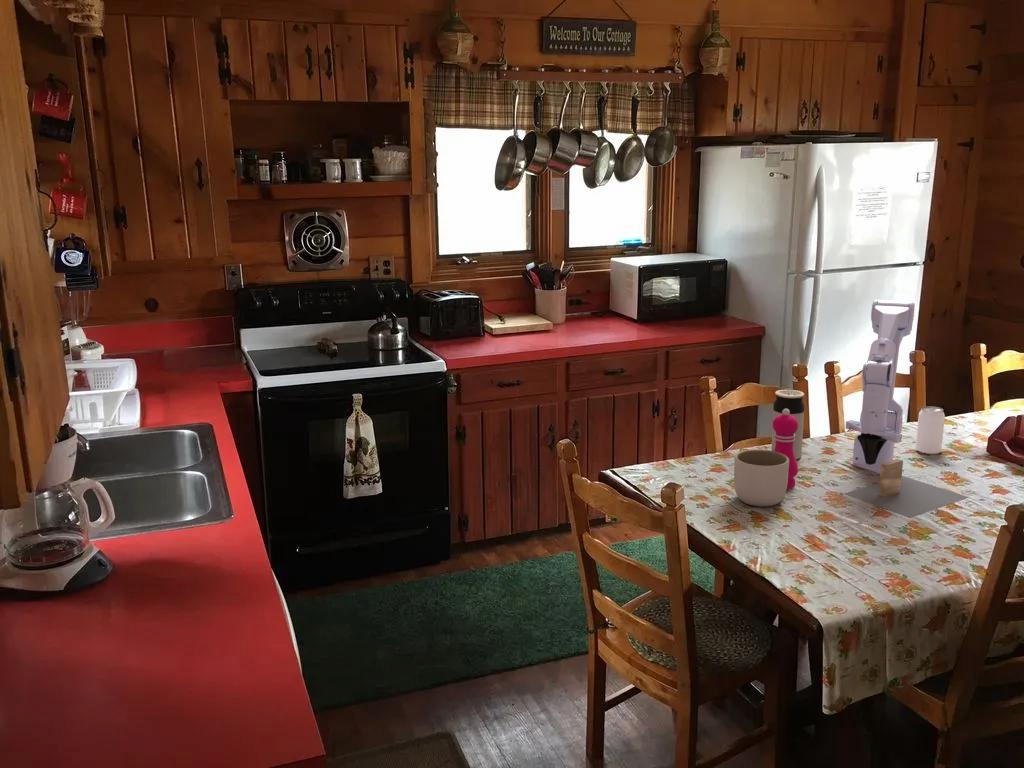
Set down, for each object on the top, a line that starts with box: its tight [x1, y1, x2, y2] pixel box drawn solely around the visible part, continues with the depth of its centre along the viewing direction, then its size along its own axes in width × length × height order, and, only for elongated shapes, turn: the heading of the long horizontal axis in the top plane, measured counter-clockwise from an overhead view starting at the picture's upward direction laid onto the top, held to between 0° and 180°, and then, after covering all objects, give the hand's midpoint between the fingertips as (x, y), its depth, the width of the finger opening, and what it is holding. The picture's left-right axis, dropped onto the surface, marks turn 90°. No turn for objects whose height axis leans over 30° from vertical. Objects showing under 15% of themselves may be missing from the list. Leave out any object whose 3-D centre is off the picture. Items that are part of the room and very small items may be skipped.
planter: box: [733, 448, 789, 508], centre depth 211 cm, size 12×12×11 cm
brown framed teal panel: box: [878, 458, 904, 497], centre depth 212 cm, size 2×6×8 cm, turn 121°
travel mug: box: [770, 389, 805, 460], centre depth 240 cm, size 8×8×18 cm
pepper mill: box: [772, 409, 799, 489], centre depth 219 cm, size 7×7×20 cm
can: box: [915, 406, 946, 455], centre depth 243 cm, size 6×6×12 cm
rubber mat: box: [843, 475, 970, 519], centre depth 212 cm, size 18×22×1 cm
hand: (870, 463), depth 217 cm, fingers closed
